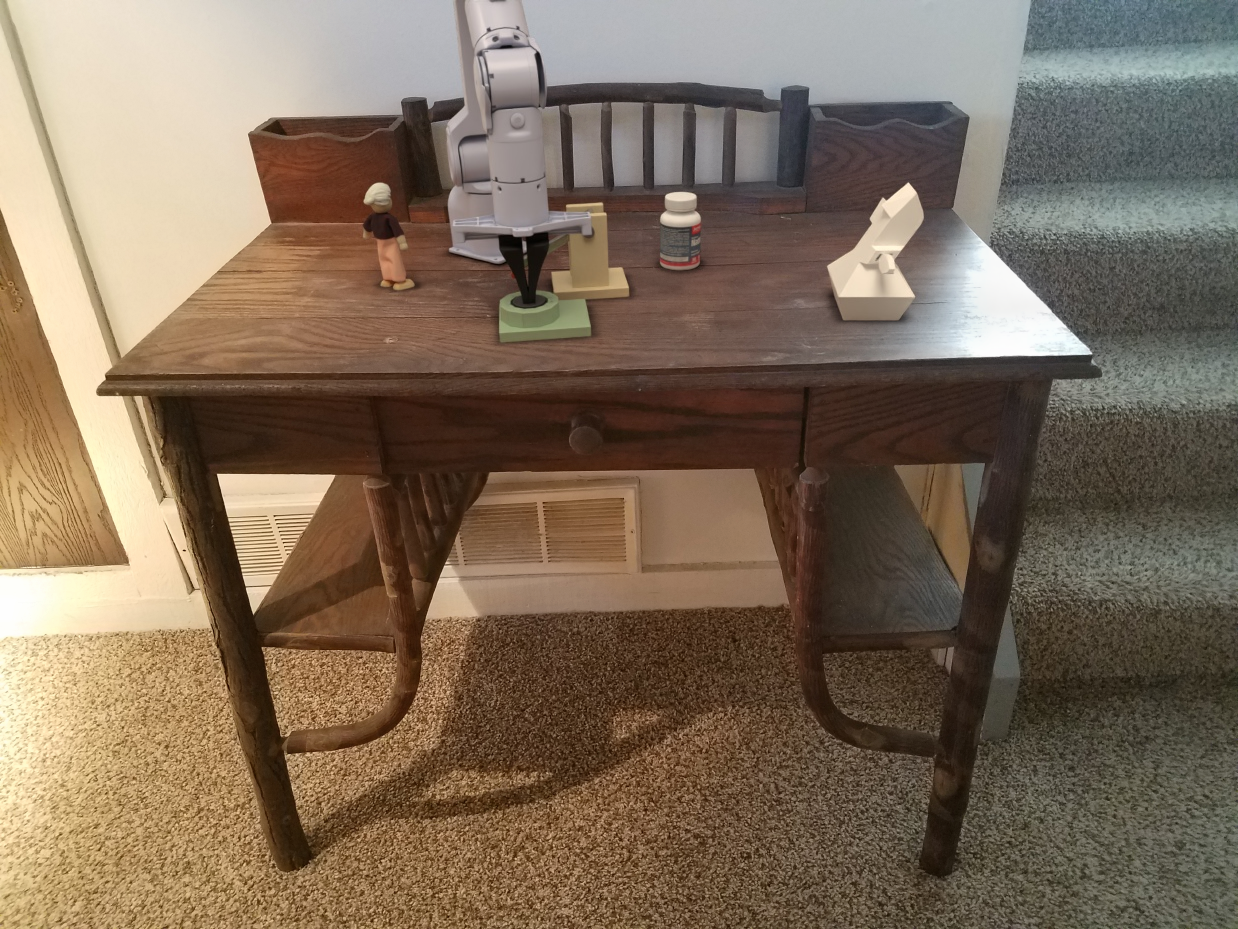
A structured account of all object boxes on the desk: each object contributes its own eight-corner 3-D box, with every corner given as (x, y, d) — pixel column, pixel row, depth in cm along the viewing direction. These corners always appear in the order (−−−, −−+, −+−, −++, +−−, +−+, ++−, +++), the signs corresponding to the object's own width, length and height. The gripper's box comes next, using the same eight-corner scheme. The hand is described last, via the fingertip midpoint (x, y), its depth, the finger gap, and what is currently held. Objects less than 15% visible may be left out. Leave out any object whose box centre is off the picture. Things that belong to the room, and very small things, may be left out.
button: (514, 322, 96) (513, 307, 95) (514, 309, 99) (512, 295, 98) (547, 319, 96) (545, 305, 95) (545, 307, 99) (544, 292, 98)
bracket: (554, 301, 104) (549, 221, 99) (551, 280, 110) (546, 203, 105) (629, 296, 105) (627, 216, 100) (622, 276, 111) (620, 198, 105)
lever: (517, 285, 103) (506, 268, 102) (516, 270, 108) (506, 254, 106) (604, 234, 101) (593, 216, 100) (599, 220, 106) (590, 203, 104)
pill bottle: (697, 272, 111) (698, 203, 106) (656, 270, 112) (656, 201, 107) (702, 258, 115) (704, 190, 111) (663, 256, 116) (663, 189, 111)
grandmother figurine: (428, 283, 110) (412, 181, 103) (410, 293, 107) (393, 190, 100) (379, 275, 113) (361, 176, 106) (360, 285, 110) (340, 184, 103)
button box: (500, 343, 95) (497, 317, 93) (500, 313, 102) (497, 289, 100) (591, 336, 96) (590, 311, 94) (585, 308, 102) (584, 283, 101)
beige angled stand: (838, 334, 95) (853, 208, 87) (821, 285, 106) (834, 171, 99) (917, 334, 94) (939, 207, 86) (892, 286, 106) (909, 170, 98)
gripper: (445, 190, 85) (462, 319, 93) (591, 182, 87) (597, 309, 94) (448, 172, 91) (464, 294, 99) (586, 164, 92) (591, 285, 100)
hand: (529, 300), depth 97 cm, fingers closed, pressing on button
